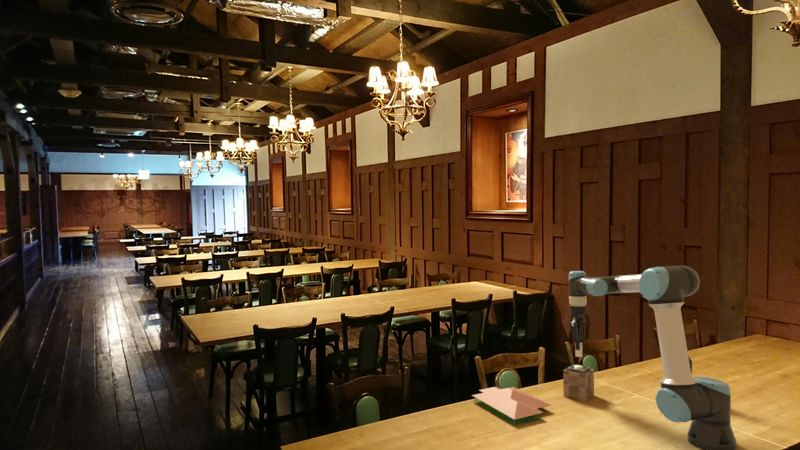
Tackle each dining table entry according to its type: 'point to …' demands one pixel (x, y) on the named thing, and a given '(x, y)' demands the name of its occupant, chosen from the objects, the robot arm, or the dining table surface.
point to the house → (511, 403)
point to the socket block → (578, 383)
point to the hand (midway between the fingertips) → (578, 356)
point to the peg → (578, 367)
